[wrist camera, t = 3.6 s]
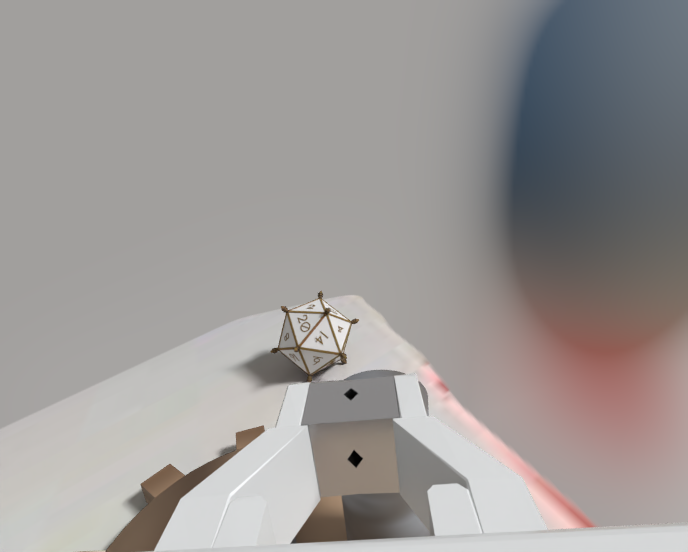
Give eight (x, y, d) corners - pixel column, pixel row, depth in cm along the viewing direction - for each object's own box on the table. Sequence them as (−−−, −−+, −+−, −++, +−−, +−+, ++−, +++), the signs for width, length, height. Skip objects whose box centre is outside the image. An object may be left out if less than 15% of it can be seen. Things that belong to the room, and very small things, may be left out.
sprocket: (-191, 990, 12) (-476, 775, 8) (161, 447, 33) (123, 321, 30) (600, 1018, 10) (667, 771, 7) (438, 431, 32) (434, 296, 28)
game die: (339, 400, 44) (373, 353, 37) (262, 391, 42) (282, 340, 35) (337, 332, 50) (366, 281, 43) (269, 321, 48) (288, 265, 41)
